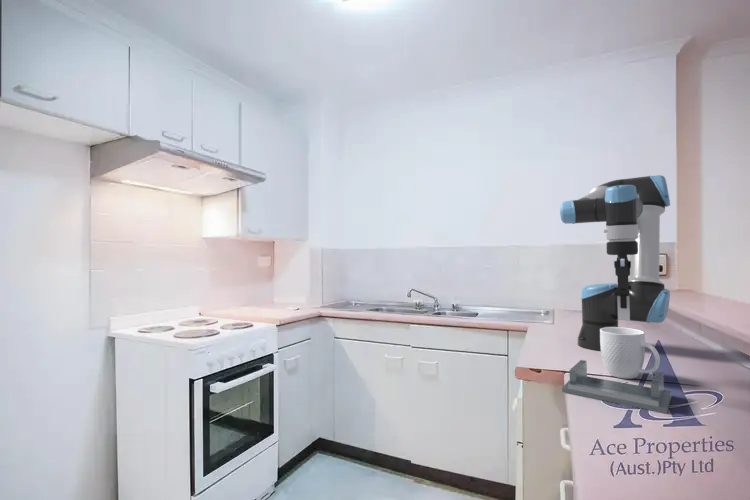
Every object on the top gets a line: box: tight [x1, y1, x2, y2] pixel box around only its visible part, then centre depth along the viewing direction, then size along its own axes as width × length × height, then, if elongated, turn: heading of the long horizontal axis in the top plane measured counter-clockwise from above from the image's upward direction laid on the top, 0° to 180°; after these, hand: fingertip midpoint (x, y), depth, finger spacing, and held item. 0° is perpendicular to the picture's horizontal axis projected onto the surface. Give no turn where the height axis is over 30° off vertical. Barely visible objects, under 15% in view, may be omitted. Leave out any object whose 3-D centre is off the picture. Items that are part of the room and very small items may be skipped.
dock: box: [561, 359, 672, 415], centre depth 100 cm, size 13×22×6 cm, turn 49°
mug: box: [600, 326, 661, 380], centre depth 112 cm, size 15×11×13 cm
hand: (623, 315), depth 110 cm, fingers open, 13 cm apart
